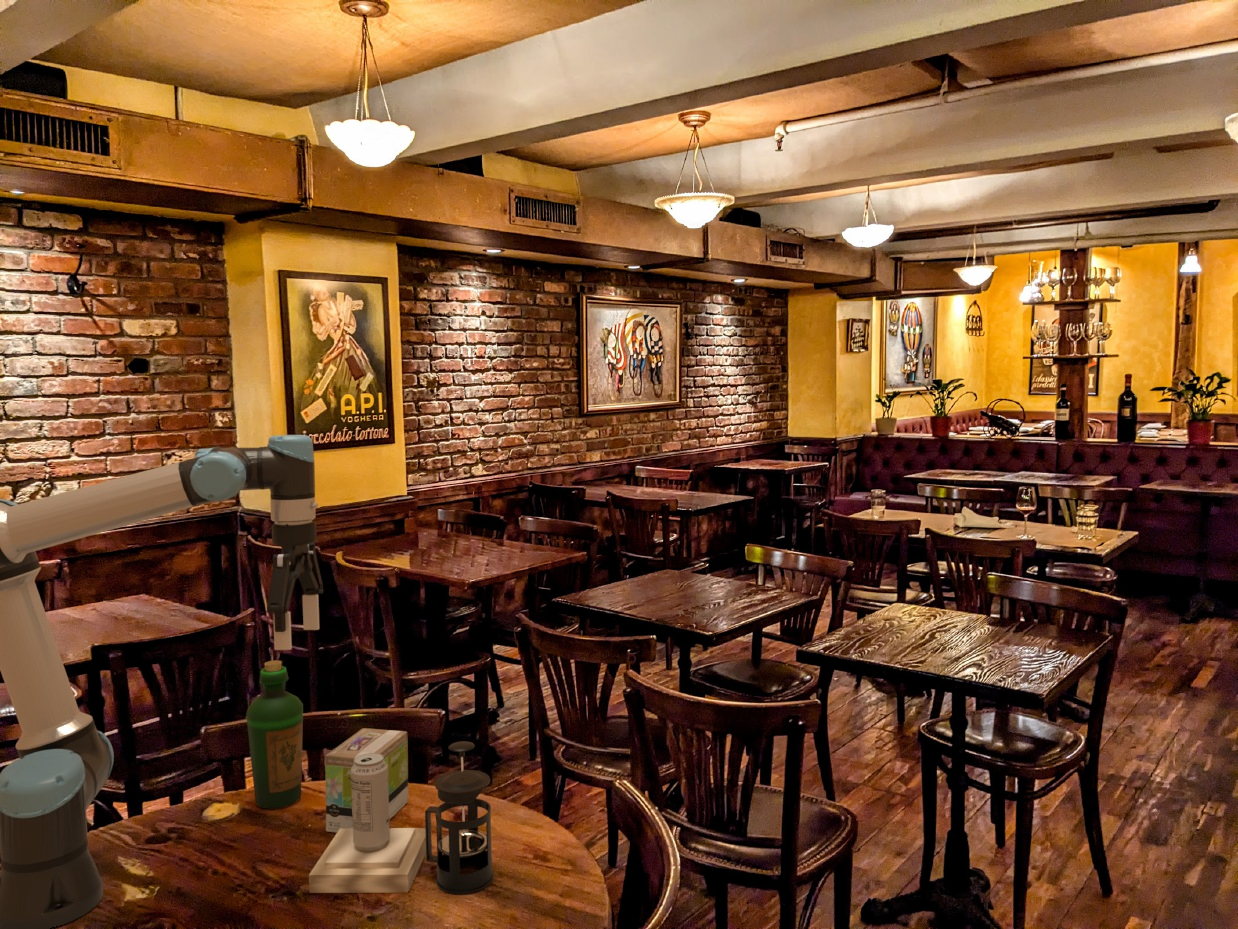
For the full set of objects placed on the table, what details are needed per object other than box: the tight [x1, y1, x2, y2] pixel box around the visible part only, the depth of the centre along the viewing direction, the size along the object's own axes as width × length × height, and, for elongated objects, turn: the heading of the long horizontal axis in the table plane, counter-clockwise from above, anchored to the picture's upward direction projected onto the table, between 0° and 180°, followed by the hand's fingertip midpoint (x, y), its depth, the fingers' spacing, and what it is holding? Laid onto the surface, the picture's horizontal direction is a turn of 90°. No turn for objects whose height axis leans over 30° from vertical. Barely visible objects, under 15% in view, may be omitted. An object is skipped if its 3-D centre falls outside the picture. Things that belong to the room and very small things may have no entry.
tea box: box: [324, 727, 409, 834], centre depth 176 cm, size 15×10×15 cm, turn 168°
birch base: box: [308, 827, 426, 894], centre depth 157 cm, size 16×16×4 cm
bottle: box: [245, 660, 304, 810], centre depth 183 cm, size 11×11×28 cm
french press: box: [424, 740, 495, 896], centre depth 152 cm, size 12×9×23 cm
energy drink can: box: [351, 753, 391, 852], centre depth 156 cm, size 6×6×15 cm
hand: (297, 639), depth 166 cm, fingers open, 13 cm apart
